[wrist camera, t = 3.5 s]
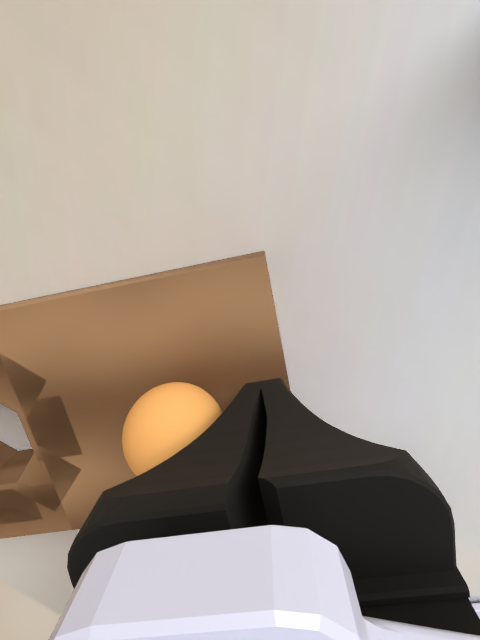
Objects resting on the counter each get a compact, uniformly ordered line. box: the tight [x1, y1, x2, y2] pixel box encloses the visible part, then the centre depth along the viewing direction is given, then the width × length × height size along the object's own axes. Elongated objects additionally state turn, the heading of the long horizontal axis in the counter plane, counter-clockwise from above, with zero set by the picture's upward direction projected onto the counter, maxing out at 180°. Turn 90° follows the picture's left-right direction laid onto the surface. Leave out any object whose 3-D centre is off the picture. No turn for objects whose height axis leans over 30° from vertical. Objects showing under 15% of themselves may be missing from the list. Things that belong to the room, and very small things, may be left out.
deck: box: [0, 251, 290, 538], centre depth 15 cm, size 10×17×2 cm, turn 102°
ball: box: [122, 382, 222, 476], centre depth 11 cm, size 3×3×3 cm
